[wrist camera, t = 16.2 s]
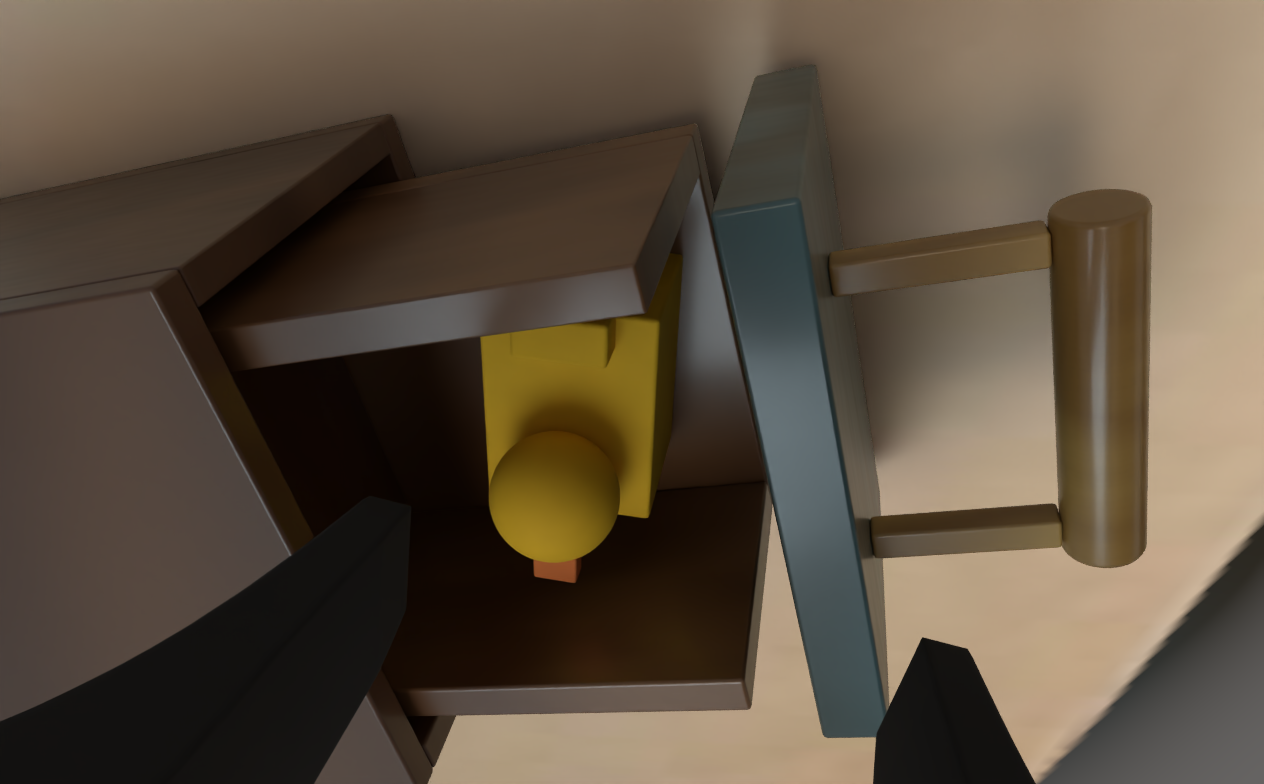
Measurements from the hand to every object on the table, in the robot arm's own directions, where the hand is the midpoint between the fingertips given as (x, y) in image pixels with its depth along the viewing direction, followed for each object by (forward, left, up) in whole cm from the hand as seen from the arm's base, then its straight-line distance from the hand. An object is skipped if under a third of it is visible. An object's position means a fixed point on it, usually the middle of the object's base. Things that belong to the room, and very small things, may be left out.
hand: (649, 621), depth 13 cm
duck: (0, -3, -8) cm, 9 cm away
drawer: (0, -1, -10) cm, 10 cm away
